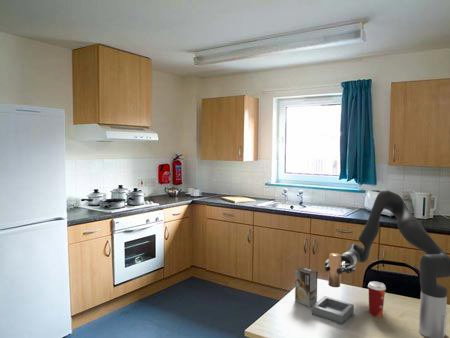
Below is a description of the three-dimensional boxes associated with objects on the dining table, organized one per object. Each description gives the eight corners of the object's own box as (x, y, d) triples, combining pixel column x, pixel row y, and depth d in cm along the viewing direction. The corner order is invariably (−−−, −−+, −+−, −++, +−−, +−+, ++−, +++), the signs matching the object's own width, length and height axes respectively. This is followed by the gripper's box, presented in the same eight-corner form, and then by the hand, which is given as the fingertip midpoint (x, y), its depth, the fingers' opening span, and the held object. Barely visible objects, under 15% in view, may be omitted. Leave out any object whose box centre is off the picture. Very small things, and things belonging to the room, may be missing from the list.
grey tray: (353, 312, 164) (353, 304, 164) (342, 324, 153) (342, 315, 153) (324, 304, 173) (324, 296, 172) (311, 314, 162) (312, 306, 161)
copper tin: (342, 284, 163) (343, 254, 162) (337, 288, 159) (338, 257, 158) (331, 281, 166) (332, 252, 165) (326, 285, 162) (327, 255, 161)
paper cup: (386, 318, 159) (388, 288, 158) (368, 316, 160) (369, 286, 159) (382, 310, 167) (383, 281, 165) (365, 308, 168) (366, 280, 167)
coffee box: (317, 303, 173) (318, 271, 172) (309, 307, 169) (310, 274, 168) (302, 297, 180) (302, 266, 179) (294, 300, 176) (295, 269, 175)
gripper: (332, 250, 177) (317, 259, 164) (361, 256, 168) (348, 266, 155) (332, 265, 178) (317, 274, 164) (361, 272, 168) (348, 282, 155)
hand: (332, 270), depth 160 cm, fingers closed on copper tin, 5 cm apart
